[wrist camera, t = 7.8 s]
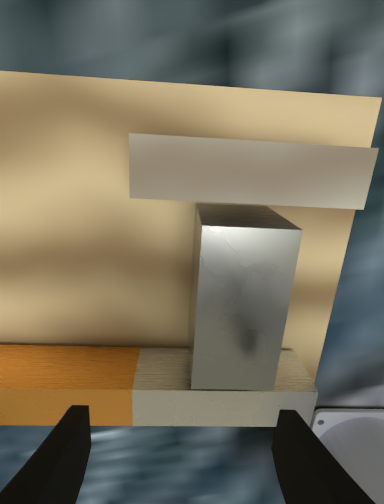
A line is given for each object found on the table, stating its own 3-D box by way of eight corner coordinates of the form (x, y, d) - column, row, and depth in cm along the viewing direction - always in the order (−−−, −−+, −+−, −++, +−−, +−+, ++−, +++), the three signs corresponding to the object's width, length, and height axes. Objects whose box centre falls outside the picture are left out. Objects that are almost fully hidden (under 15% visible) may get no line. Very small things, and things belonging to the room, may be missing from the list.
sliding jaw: (288, 381, 20) (309, 426, 17) (-17, 376, 19) (-58, 424, 16) (294, 350, 19) (318, 392, 16) (-24, 344, 18) (-68, 387, 15)
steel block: (250, 330, 19) (273, 389, 14) (188, 328, 19) (191, 389, 14) (267, 206, 16) (302, 230, 12) (195, 203, 16) (202, 225, 11)
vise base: (303, 395, 22) (334, 458, 18) (-14, 391, 21) (-66, 458, 16) (370, 100, 16) (446, 81, 11) (-84, 69, 14) (-203, 33, 10)
